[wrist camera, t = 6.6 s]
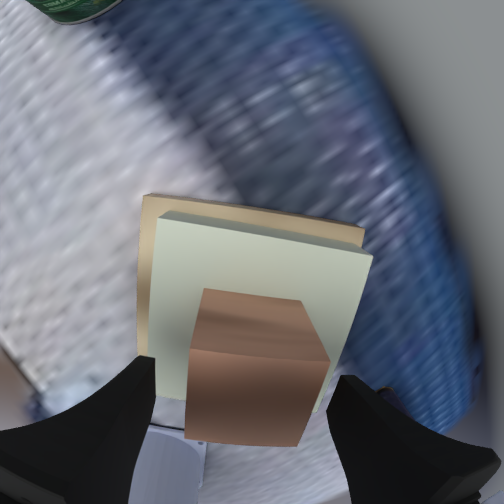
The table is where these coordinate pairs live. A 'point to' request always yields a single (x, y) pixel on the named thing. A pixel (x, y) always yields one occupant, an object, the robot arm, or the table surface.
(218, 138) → the table surface
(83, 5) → the canned tomato
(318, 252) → the top slab
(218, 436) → the terracotta block
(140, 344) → the bottom slab
